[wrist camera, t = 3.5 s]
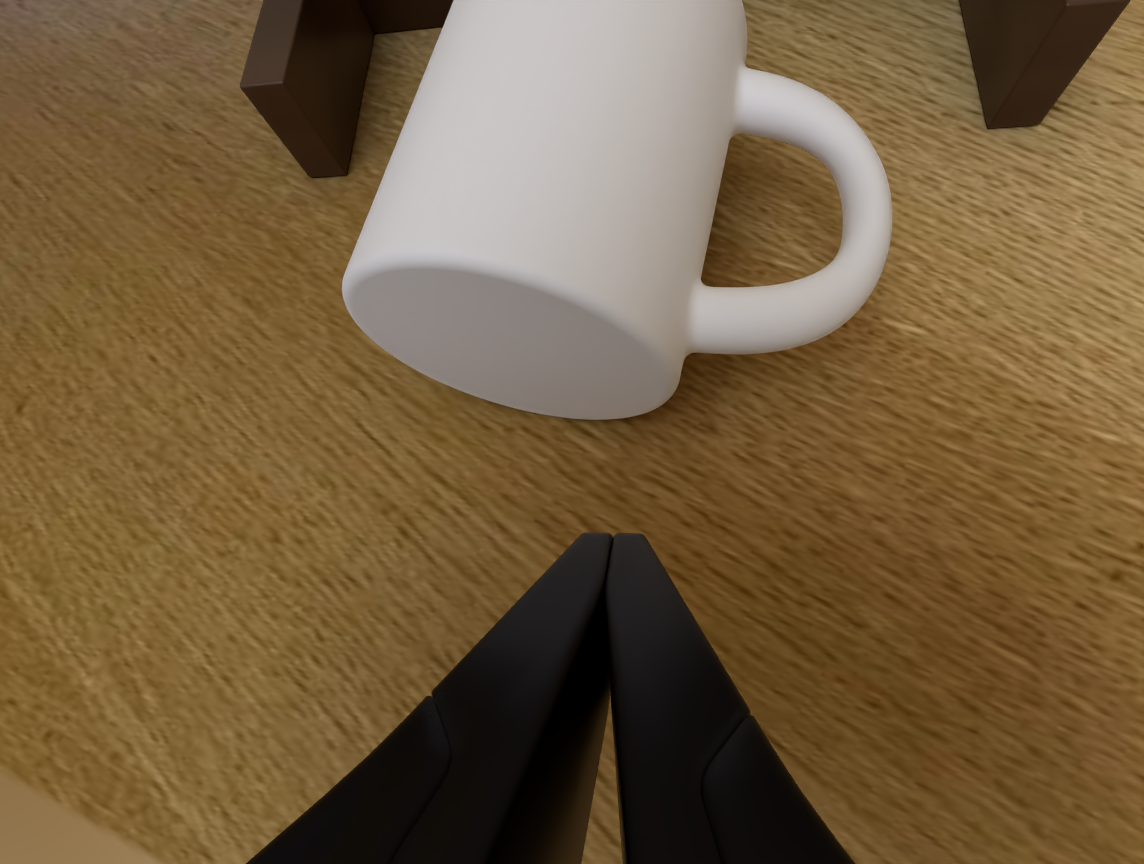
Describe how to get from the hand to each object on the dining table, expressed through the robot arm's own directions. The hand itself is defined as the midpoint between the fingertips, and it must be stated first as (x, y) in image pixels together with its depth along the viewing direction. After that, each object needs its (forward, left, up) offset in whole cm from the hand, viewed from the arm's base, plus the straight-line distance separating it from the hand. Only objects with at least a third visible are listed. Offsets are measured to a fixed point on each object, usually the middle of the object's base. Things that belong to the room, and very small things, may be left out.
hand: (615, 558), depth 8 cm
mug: (+9, +4, -8) cm, 13 cm away
